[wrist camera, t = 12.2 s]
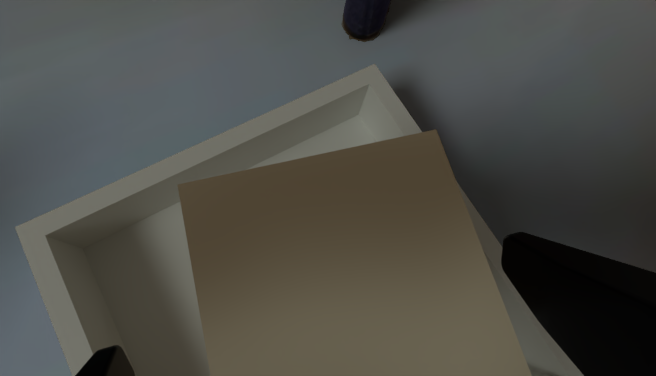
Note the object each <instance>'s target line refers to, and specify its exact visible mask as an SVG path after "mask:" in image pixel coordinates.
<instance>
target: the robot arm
mask: <svg viewBox="0 0 656 376" xmlns="http://www.w3.org/2000/svg"><path fill="white" fill-rule="evenodd" d="M501 266H502V269H503V271H504V273H505V274H506V276H507V277H508V278H509V280H510V281H511V283H512V284H513V286H514V287H515V289H516V290H517V291H518V293H519V294H520V296H521V297H522V299H523V300H524V302H525V303H526V304H527V306H528V307H529V309H530V310H531V312H532V313H533V315H534V316H535V317H536V319H537V320H538V321H539V323H540V324H541V325H542V326H543V328H544V329H545V330H546V331H547V333H548V334H549V335H550V336H551V337H552V339H553V340H554V341H555V342H556V343H557V344H558V346H559V347H560V348H561V349H562V350H563V352H564V353H565V354H566V355H567V356H568V357H569V359H570V360H571V361H572V362H573V363H574V365H575V366H576V367H577V368H578V369H579V370H580V372H581V373H582V374H583V375H584V376H656V273H654V272H651V271H648V270H644V269H641V268H638V267H635V266H631V265H628V264H625V263H622V262H618V261H615V260H612V259H609V258H605V257H602V256H599V255H596V254H592V253H589V252H586V251H582V250H579V249H576V248H573V247H569V246H566V245H563V244H560V243H556V242H553V241H550V240H547V239H543V238H540V237H537V236H534V235H530V234H527V233H524V232H517V233H514V234H510V235H507V236H506V237H505V238H504V240H503V248H502V256H501ZM75 376H135V373H134V370H133V368H132V366H131V364H130V362H129V360H128V358H127V356H126V354H125V352H124V350H123V349H122V347H121V346H119V345H113V346H110V347H106V348H103V349H100V350H97V351H96V352H95V353H94V354H93V355H92V356H91V358H90V359H89V360H88V361H87V362H86V363H85V365H84V366H83V367H82V368H81V369H80V371H79V372H78V373H77V374H76V375H75Z"/></svg>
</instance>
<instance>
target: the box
mask: <svg viewBox="0 0 656 376" xmlns="http://www.w3.org/2000/svg"><path fill="white" fill-rule="evenodd" d="M421 132H422V131H421V130H420V128H419V127H418V125H417V124H416V122H415V121H414V120H413V118H412V117H411V115H410V114H409V112H408V111H407V110H406V108H405V107H404V105H403V104H402V102H401V101H400V99H399V98H398V97H397V95H396V94H395V92H394V91H393V89H392V88H391V87H390V85H389V84H388V82H387V81H386V79H385V78H384V77H383V75H382V74H381V72H380V71H379V69H378V68H377V66H376V65H375V64H373V65H371V66H369V67H367V68H364V69H362V70H360V71H358V72H356V73H353V74H351V75H349V76H347V77H345V78H342V79H340V80H338V81H336V82H334V83H331V84H329V85H327V86H325V87H323V88H320V89H318V90H316V91H314V92H312V93H309V94H307V95H305V96H303V97H301V98H298V99H296V100H294V101H292V102H290V103H287V104H285V105H283V106H281V107H279V108H276V109H274V110H272V111H270V112H268V113H265V114H263V115H261V116H259V117H257V118H254V119H252V120H250V121H248V122H246V123H243V124H241V125H239V126H237V127H235V128H232V129H230V130H228V131H226V132H223V133H221V134H219V135H217V136H215V137H212V138H210V139H208V140H206V141H204V142H201V143H199V144H197V145H195V146H193V147H190V148H188V149H186V150H184V151H182V152H179V153H177V154H175V155H173V156H171V157H168V158H166V159H164V160H162V161H160V162H157V163H155V164H153V165H151V166H149V167H146V168H144V169H142V170H140V171H138V172H135V173H133V174H131V175H129V176H127V177H124V178H122V179H120V180H118V181H116V182H113V183H111V184H109V185H107V186H105V187H102V188H100V189H98V190H96V191H94V192H91V193H89V194H87V195H85V196H83V197H80V198H78V199H76V200H74V201H72V202H69V203H67V204H65V205H63V206H61V207H58V208H56V209H54V210H52V211H50V212H47V213H45V214H43V215H41V216H39V217H36V218H34V219H32V220H30V221H28V222H25V223H23V224H21V225H19V226H17V227H15V229H16V231H17V234H18V237H19V239H20V242H21V244H22V247H23V249H24V252H25V255H26V257H27V260H28V262H29V265H30V268H31V270H32V273H33V275H34V278H35V280H36V283H37V286H38V288H39V291H40V293H41V296H42V298H43V301H44V304H45V306H46V309H47V311H48V314H49V317H50V319H51V322H52V324H53V327H54V329H55V332H56V335H57V337H58V340H59V342H60V345H61V347H62V350H63V353H64V355H65V358H66V360H67V363H68V366H69V368H70V371H71V373H72V376H75V375H76V374H77V373H78V372H79V371H80V369H81V368H82V367H83V366H84V365H85V363H86V362H87V361H88V360H89V359H90V358H91V356H92V355H93V354H94V353H95V352H96V351H97V350H100V349H103V348H106V347H110V346H113V345H119V346H121V347H122V349H123V350H124V352H125V354H126V356H127V358H128V360H129V362H130V364H131V366H132V368H133V370H134V373H135V376H211V375H210V369H209V364H208V358H207V352H206V346H205V341H204V335H203V329H202V323H201V318H200V312H199V306H198V300H197V295H196V289H195V283H194V277H193V272H192V266H191V260H190V254H189V249H188V243H187V237H186V232H185V226H184V220H183V214H182V209H181V203H180V197H179V191H178V186H177V185H178V184H182V183H187V182H192V181H196V180H201V179H206V178H210V177H215V176H220V175H225V174H229V173H234V172H239V171H243V170H248V169H253V168H257V167H262V166H267V165H271V164H276V163H281V162H285V161H290V160H295V159H299V158H304V157H309V156H314V155H318V154H323V153H328V152H332V151H337V150H342V149H346V148H351V147H356V146H360V145H365V144H370V143H374V142H379V141H384V140H388V139H393V138H398V137H403V136H407V135H412V134H417V133H421ZM456 182H457V181H456ZM457 184H458V183H457ZM458 187H459V189H460V192H461V194H462V197H463V200H464V202H465V205H466V207H467V210H468V213H469V215H470V218H471V220H472V223H473V225H474V228H475V231H476V233H477V236H478V238H479V241H480V243H481V246H482V249H483V251H484V254H485V256H486V259H487V261H488V264H489V267H490V269H491V272H492V274H493V277H494V279H495V282H496V285H497V287H498V290H499V292H500V295H501V297H502V300H503V303H504V305H505V308H506V310H507V313H508V316H509V318H510V321H511V323H512V326H513V328H514V331H515V334H516V336H517V339H518V341H519V344H520V346H521V349H522V352H523V354H524V357H525V359H526V362H527V364H528V367H529V370H530V372H531V375H532V376H584V375H583V374H582V373H581V372H580V370H579V369H578V368H577V367H576V366H575V365H574V363H573V362H572V361H571V360H570V359H569V357H568V356H567V355H566V354H565V353H564V352H563V350H562V349H561V348H560V347H559V346H558V344H557V343H556V342H555V341H554V340H553V339H552V337H551V336H550V335H549V334H548V333H547V331H546V330H545V329H544V328H543V326H542V325H541V324H540V323H539V321H538V320H537V319H536V317H535V316H534V315H533V313H532V312H531V310H530V309H529V307H528V306H527V304H526V303H525V302H524V300H523V299H522V297H521V296H520V294H519V293H518V291H517V290H516V289H515V287H514V286H513V284H512V283H511V281H510V280H509V278H508V277H507V276H506V274H505V273H504V271H503V269H502V266H501V256H502V248H503V247H502V246H501V244H500V243H499V242H498V240H497V239H496V237H495V236H494V234H493V233H492V232H491V230H490V229H489V227H488V226H487V224H486V223H485V222H484V220H483V219H482V217H481V216H480V214H479V213H478V211H477V210H476V209H475V207H474V206H473V204H472V203H471V201H470V200H469V199H468V197H467V196H466V194H465V193H464V191H463V190H462V188H461V187H460V186H459V184H458Z"/></svg>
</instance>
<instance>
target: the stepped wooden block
mask: <svg viewBox="0 0 656 376" xmlns="http://www.w3.org/2000/svg"><path fill="white" fill-rule="evenodd" d="M177 186H178V191H179V197H180V203H181V209H182V214H183V220H184V226H185V232H186V237H187V243H188V249H189V254H190V260H191V266H192V272H193V277H194V283H195V289H196V295H197V300H198V306H199V312H200V318H201V323H202V329H203V335H204V341H205V346H206V352H207V358H208V364H209V369H210V375H211V376H532V375H531V372H530V370H529V367H528V364H527V362H526V359H525V357H524V354H523V352H522V349H521V346H520V344H519V341H518V339H517V336H516V334H515V331H514V328H513V326H512V323H511V321H510V318H509V316H508V313H507V310H506V308H505V305H504V303H503V300H502V297H501V295H500V292H499V290H498V287H497V285H496V282H495V279H494V277H493V274H492V272H491V269H490V267H489V264H488V261H487V259H486V256H485V254H484V251H483V249H482V246H481V243H480V241H479V238H478V236H477V233H476V231H475V228H474V225H473V223H472V220H471V218H470V215H469V213H468V210H467V207H466V205H465V202H464V200H463V197H462V194H461V192H460V189H459V187H458V184H457V182H456V179H455V176H454V174H453V171H452V169H451V166H450V164H449V161H448V158H447V156H446V153H445V151H444V148H443V146H442V143H441V140H440V138H439V135H438V133H437V130H436V129H435V130H431V131H426V132H421V133H417V134H412V135H407V136H403V137H398V138H393V139H388V140H384V141H379V142H374V143H370V144H365V145H360V146H356V147H351V148H346V149H342V150H337V151H332V152H328V153H323V154H318V155H314V156H309V157H304V158H299V159H295V160H290V161H285V162H281V163H276V164H271V165H267V166H262V167H257V168H253V169H248V170H243V171H239V172H234V173H229V174H225V175H220V176H215V177H210V178H206V179H201V180H196V181H192V182H187V183H182V184H178V185H177Z"/></svg>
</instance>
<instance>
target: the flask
mask: <svg viewBox="0 0 656 376" xmlns="http://www.w3.org/2000/svg"><path fill="white" fill-rule="evenodd" d="M390 1H391V0H346V3H345V7H344V13H343V21H342V27H343V29H344V30H345V31H346V33H347V34H348V35H349V39H356V40H358V41H363V42H366V41H370V40H374V39H375V38H376V37H377V36H378V35H379V33H380V31H381V30H382V28H383V26H384V24H385V21H386V16H387V14H388V12H389V5H390Z"/></svg>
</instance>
